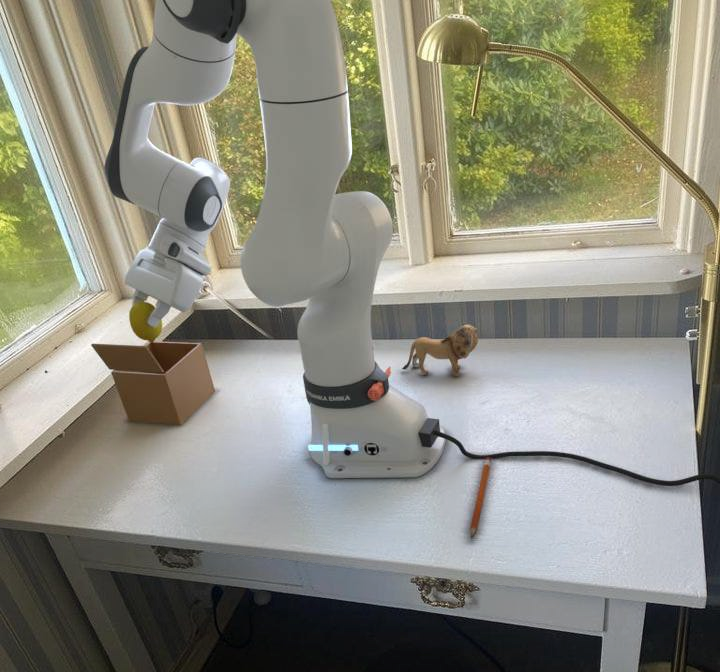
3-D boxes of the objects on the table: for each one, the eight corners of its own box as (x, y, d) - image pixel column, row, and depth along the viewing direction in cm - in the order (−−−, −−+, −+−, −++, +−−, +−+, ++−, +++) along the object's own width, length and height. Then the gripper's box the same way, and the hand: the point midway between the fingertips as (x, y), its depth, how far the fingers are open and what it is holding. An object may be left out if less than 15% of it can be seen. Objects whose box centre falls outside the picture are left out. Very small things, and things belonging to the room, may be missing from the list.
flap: (147, 345, 123) (146, 347, 123) (163, 371, 128) (163, 372, 128) (91, 343, 127) (90, 345, 127) (110, 367, 132) (109, 369, 132)
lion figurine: (479, 363, 139) (478, 319, 134) (478, 376, 135) (476, 331, 130) (404, 365, 142) (399, 322, 137) (400, 378, 138) (395, 335, 133)
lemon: (153, 333, 137) (140, 293, 132) (173, 338, 134) (161, 296, 129) (131, 346, 134) (117, 305, 129) (151, 350, 131) (137, 309, 126)
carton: (215, 391, 144) (201, 343, 138) (180, 425, 135) (164, 375, 129) (165, 387, 148) (150, 341, 142) (128, 420, 139) (110, 371, 133)
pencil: (491, 461, 112) (491, 457, 112) (474, 541, 98) (474, 536, 97) (485, 461, 113) (485, 457, 112) (468, 540, 98) (467, 535, 98)
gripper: (135, 233, 134) (104, 301, 136) (187, 252, 121) (152, 327, 122) (163, 249, 139) (133, 315, 140) (216, 269, 125) (182, 342, 126)
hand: (142, 321), depth 131 cm, fingers closed on lemon, 5 cm apart
